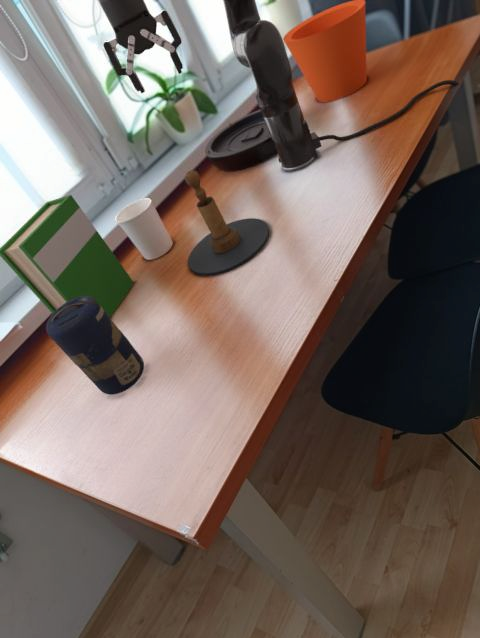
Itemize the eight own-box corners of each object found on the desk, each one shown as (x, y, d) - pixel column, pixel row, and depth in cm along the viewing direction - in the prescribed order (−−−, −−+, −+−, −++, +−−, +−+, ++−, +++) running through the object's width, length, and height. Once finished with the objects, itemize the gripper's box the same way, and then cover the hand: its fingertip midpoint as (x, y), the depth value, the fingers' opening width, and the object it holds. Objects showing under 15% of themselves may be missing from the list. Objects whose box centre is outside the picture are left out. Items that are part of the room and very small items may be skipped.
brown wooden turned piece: (236, 249, 106) (198, 175, 94) (211, 256, 108) (170, 184, 97) (242, 232, 110) (206, 159, 99) (217, 239, 113) (180, 169, 101)
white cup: (181, 235, 124) (157, 194, 117) (166, 259, 118) (139, 217, 111) (152, 241, 129) (127, 202, 121) (135, 264, 123) (108, 224, 115)
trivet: (261, 210, 116) (260, 207, 116) (277, 249, 101) (276, 246, 100) (187, 245, 119) (186, 243, 118) (191, 288, 103) (190, 285, 103)
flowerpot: (388, 83, 142) (372, 7, 130) (307, 117, 148) (284, 48, 136) (373, 62, 160) (357, -6, 148) (301, 94, 167) (281, 31, 154)
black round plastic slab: (198, 182, 146) (288, 159, 131) (189, 164, 142) (280, 138, 127) (232, 136, 164) (314, 111, 149) (224, 119, 160) (308, 92, 146)
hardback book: (98, 335, 105) (21, 245, 90) (74, 337, 108) (-4, 251, 93) (134, 282, 116) (70, 194, 101) (111, 286, 119) (46, 202, 104)
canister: (107, 369, 94) (46, 301, 83) (149, 352, 93) (93, 280, 81) (99, 405, 87) (31, 336, 76) (145, 387, 85) (83, 314, 74)
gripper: (80, 11, 86) (130, 102, 97) (150, -28, 85) (194, 69, 95) (85, 8, 92) (132, 94, 102) (151, -29, 90) (192, 63, 101)
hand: (161, 82), depth 99 cm, fingers open, 8 cm apart
